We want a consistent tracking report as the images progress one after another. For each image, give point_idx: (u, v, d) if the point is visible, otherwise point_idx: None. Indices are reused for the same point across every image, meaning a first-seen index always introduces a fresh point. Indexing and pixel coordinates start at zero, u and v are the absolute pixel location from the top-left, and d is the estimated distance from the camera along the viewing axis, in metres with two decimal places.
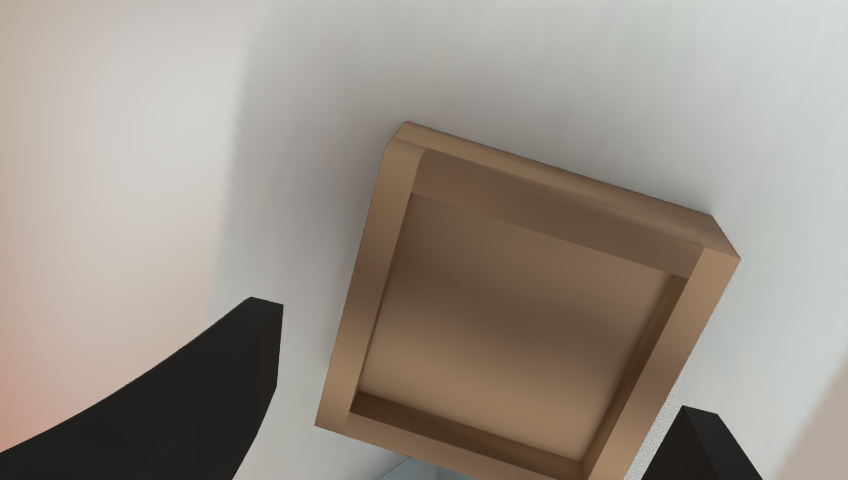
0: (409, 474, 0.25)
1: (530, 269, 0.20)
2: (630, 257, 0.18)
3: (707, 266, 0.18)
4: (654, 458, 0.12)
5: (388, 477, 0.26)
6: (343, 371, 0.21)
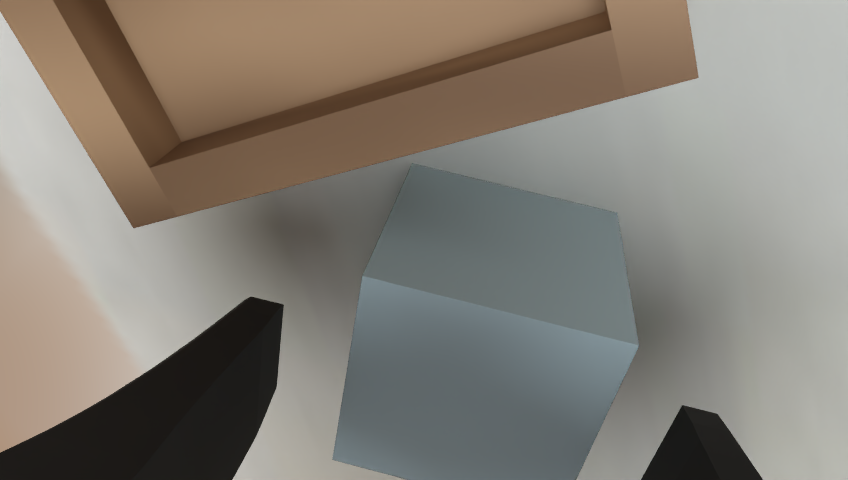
0: None
1: None
2: None
3: None
4: (654, 458, 0.12)
5: None
6: (79, 97, 0.11)
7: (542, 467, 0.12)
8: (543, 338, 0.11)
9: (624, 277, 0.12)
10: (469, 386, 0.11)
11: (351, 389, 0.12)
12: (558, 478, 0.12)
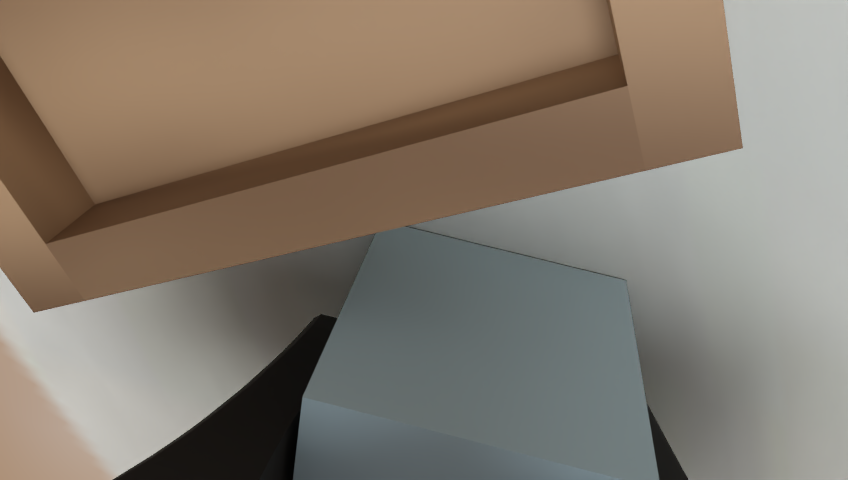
0: None
1: None
2: None
3: None
4: None
5: None
6: None
7: None
8: (537, 476, 0.08)
9: (638, 379, 0.10)
10: None
11: None
12: None
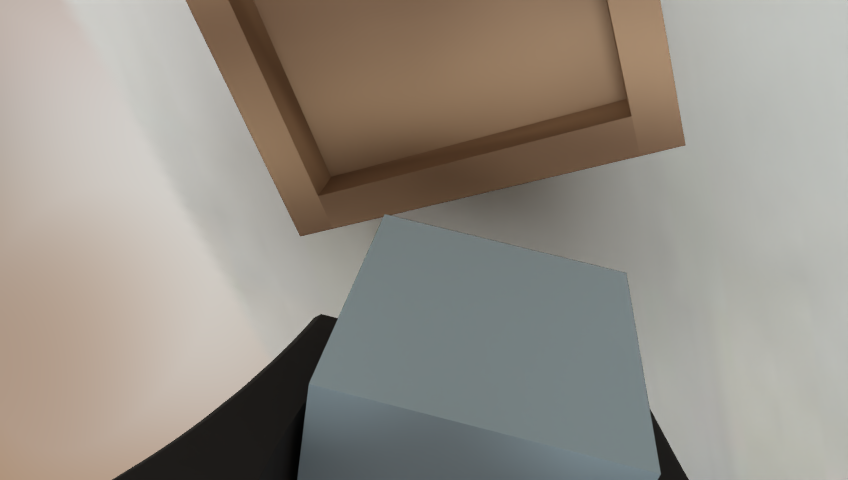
0: None
1: None
2: None
3: None
4: None
5: None
6: (276, 150, 0.17)
7: None
8: (539, 462, 0.08)
9: (638, 368, 0.10)
10: None
11: None
12: None
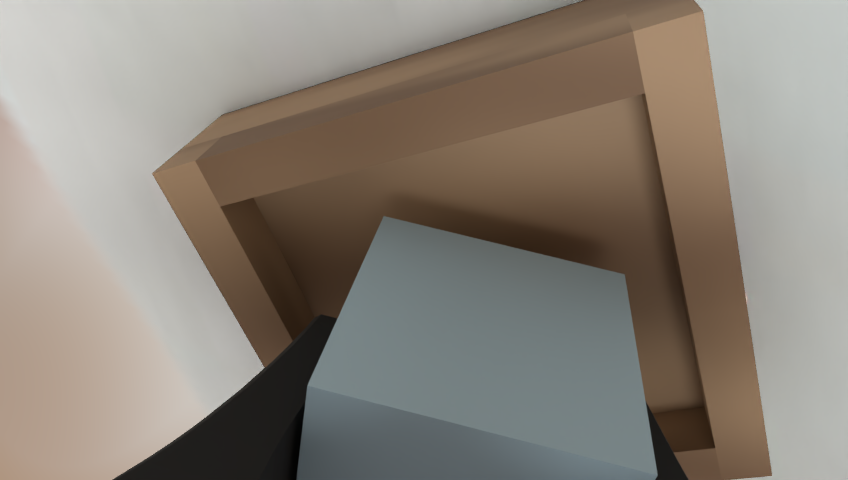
0: None
1: (452, 206, 0.13)
2: (536, 116, 0.11)
3: (658, 56, 0.10)
4: None
5: None
6: None
7: None
8: (537, 463, 0.08)
9: (636, 370, 0.10)
10: None
11: None
12: None
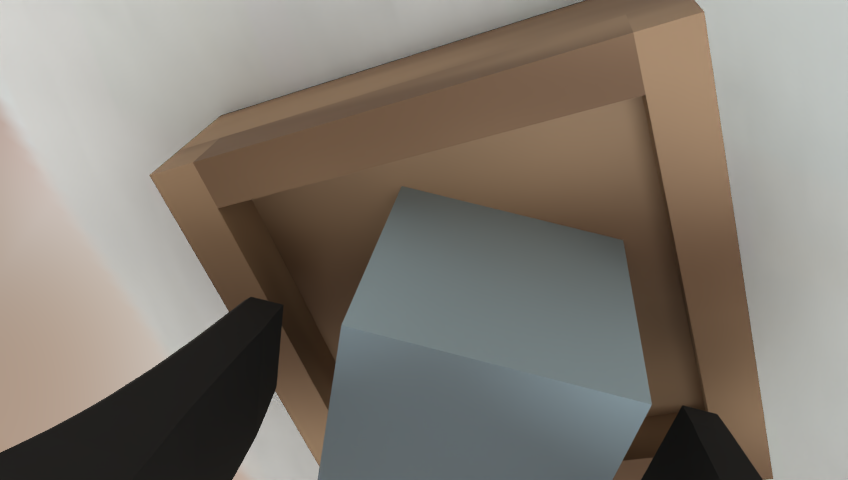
0: None
1: None
2: (536, 117, 0.11)
3: (659, 57, 0.10)
4: (654, 458, 0.12)
5: None
6: None
7: None
8: (545, 394, 0.10)
9: (633, 320, 0.11)
10: (462, 443, 0.10)
11: (331, 444, 0.11)
12: None
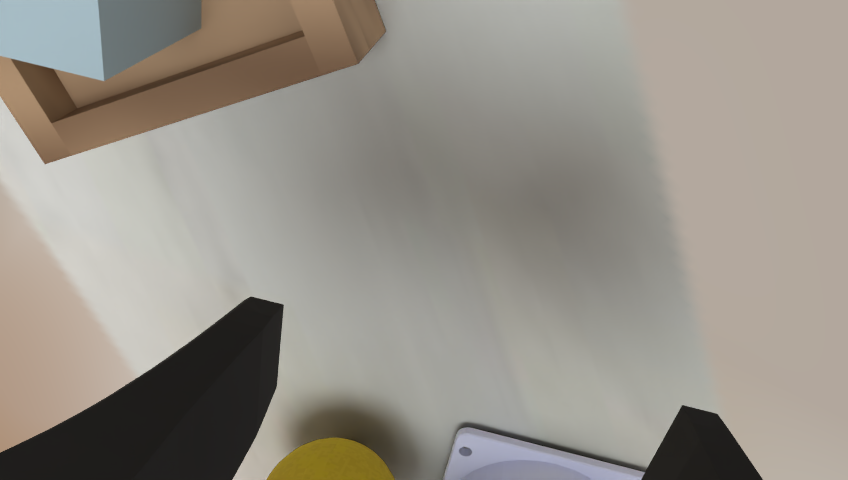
0: None
1: None
2: None
3: None
4: (654, 458, 0.12)
5: None
6: (4, 78, 0.18)
7: (68, 11, 0.13)
8: None
9: None
10: None
11: None
12: (86, 24, 0.13)
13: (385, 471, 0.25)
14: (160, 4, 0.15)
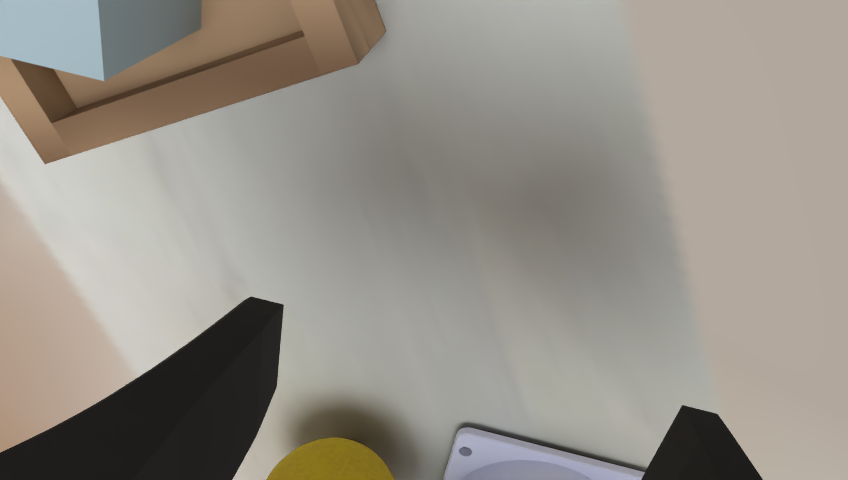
0: None
1: None
2: None
3: None
4: (654, 458, 0.12)
5: None
6: (4, 78, 0.18)
7: (68, 11, 0.13)
8: None
9: None
10: None
11: None
12: (86, 24, 0.13)
13: (385, 471, 0.25)
14: (160, 4, 0.15)
